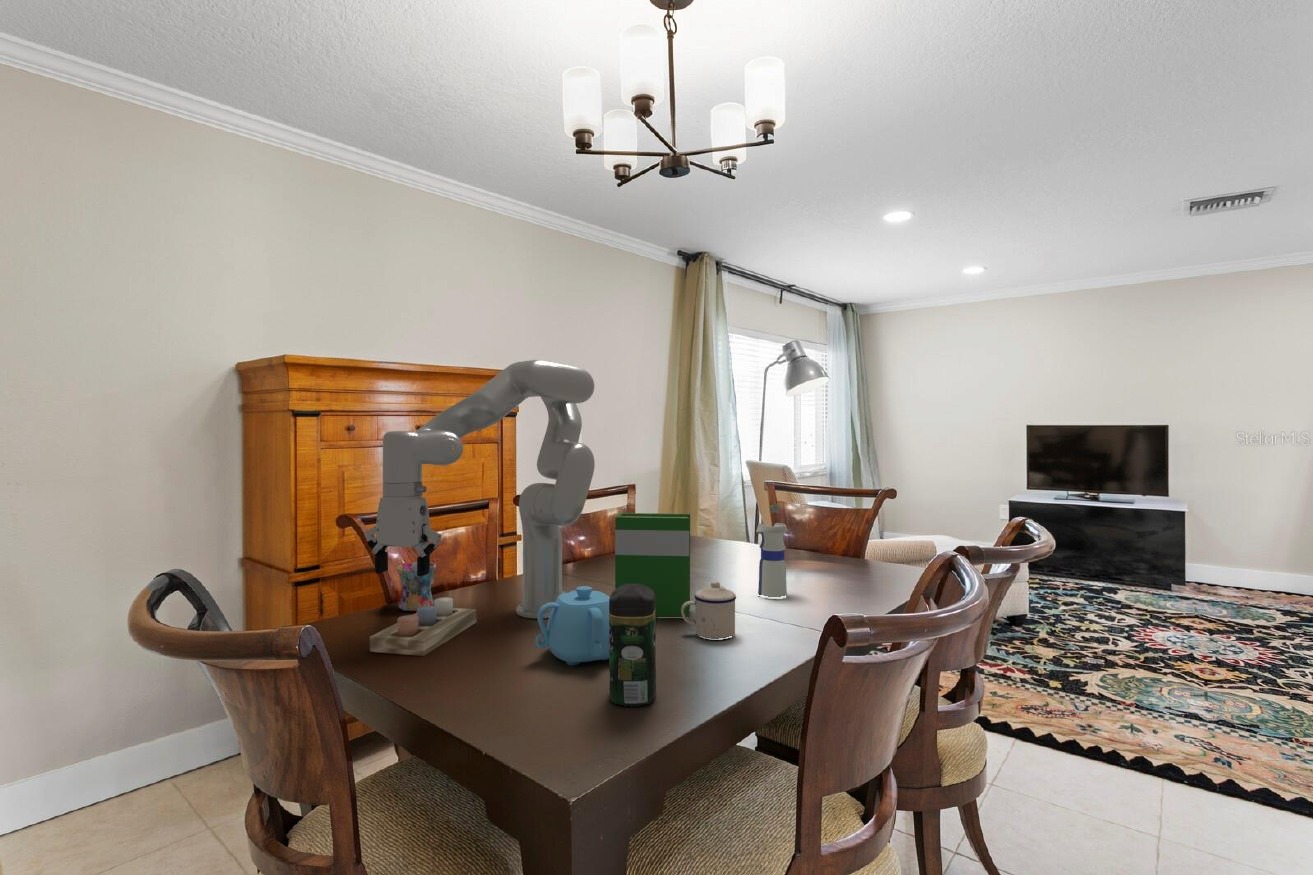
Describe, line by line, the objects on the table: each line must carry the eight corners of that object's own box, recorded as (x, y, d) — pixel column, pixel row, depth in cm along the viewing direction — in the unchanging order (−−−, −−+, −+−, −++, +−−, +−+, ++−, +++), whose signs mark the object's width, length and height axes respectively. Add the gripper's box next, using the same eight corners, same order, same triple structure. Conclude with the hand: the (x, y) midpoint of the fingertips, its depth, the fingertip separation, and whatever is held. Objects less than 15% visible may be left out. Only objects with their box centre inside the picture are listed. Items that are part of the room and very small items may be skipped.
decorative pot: (525, 661, 123) (525, 591, 123) (574, 636, 137) (574, 574, 137) (594, 677, 115) (594, 603, 115) (639, 649, 129) (639, 583, 129)
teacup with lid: (734, 628, 143) (734, 577, 142) (737, 642, 134) (737, 587, 133) (681, 627, 143) (681, 576, 143) (680, 641, 134) (681, 586, 134)
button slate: (440, 623, 139) (440, 606, 139) (430, 628, 135) (430, 611, 135) (423, 622, 140) (423, 605, 140) (413, 627, 136) (413, 610, 136)
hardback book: (690, 610, 157) (690, 513, 157) (689, 619, 150) (689, 518, 149) (619, 608, 159) (619, 513, 158) (615, 617, 151) (615, 517, 151)
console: (476, 622, 147) (476, 609, 147) (423, 655, 125) (423, 640, 125) (429, 619, 149) (429, 606, 149) (369, 651, 128) (369, 636, 128)
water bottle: (751, 592, 174) (752, 501, 173) (782, 591, 175) (782, 501, 174) (760, 600, 166) (760, 505, 165) (791, 599, 167) (792, 505, 166)
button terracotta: (422, 633, 132) (422, 615, 132) (411, 639, 128) (411, 621, 128) (405, 632, 133) (404, 614, 133) (393, 638, 129) (393, 620, 129)
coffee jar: (612, 684, 112) (612, 579, 112) (657, 685, 112) (657, 580, 111) (605, 708, 102) (605, 594, 102) (654, 709, 102) (654, 595, 102)
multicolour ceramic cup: (420, 615, 153) (420, 571, 152) (388, 611, 155) (388, 568, 155) (450, 601, 164) (450, 561, 164) (419, 599, 167) (419, 558, 167)
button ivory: (456, 613, 146) (456, 597, 146) (447, 619, 142) (447, 602, 142) (440, 612, 147) (440, 597, 146) (430, 618, 143) (430, 601, 143)
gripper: (450, 490, 132) (449, 572, 132) (377, 488, 136) (377, 567, 136) (429, 494, 124) (428, 580, 125) (353, 491, 128) (353, 575, 129)
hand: (402, 573), depth 130 cm, fingers open, 9 cm apart
